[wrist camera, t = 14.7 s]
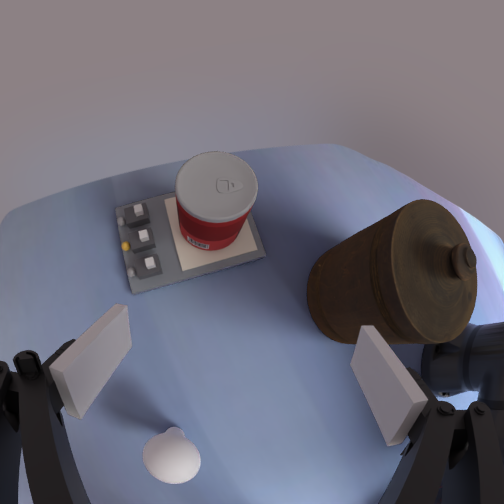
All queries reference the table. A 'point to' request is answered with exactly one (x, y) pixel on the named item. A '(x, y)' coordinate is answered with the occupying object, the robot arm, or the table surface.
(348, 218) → the table surface
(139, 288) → the breaker board
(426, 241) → the wooden container
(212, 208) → the canned food
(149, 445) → the lightbulb
